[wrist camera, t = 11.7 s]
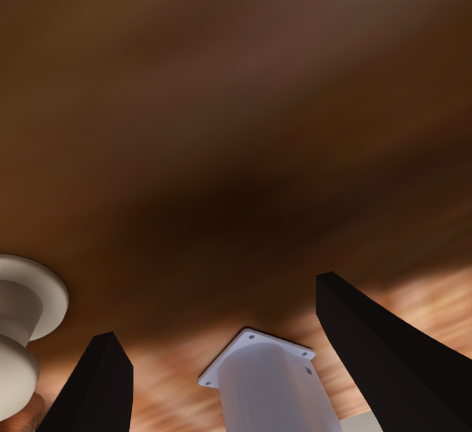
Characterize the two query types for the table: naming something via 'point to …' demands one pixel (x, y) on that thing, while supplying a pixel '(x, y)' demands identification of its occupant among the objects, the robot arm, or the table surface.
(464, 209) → the table surface
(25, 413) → the copper peg
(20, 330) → the bobbin
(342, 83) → the table surface
